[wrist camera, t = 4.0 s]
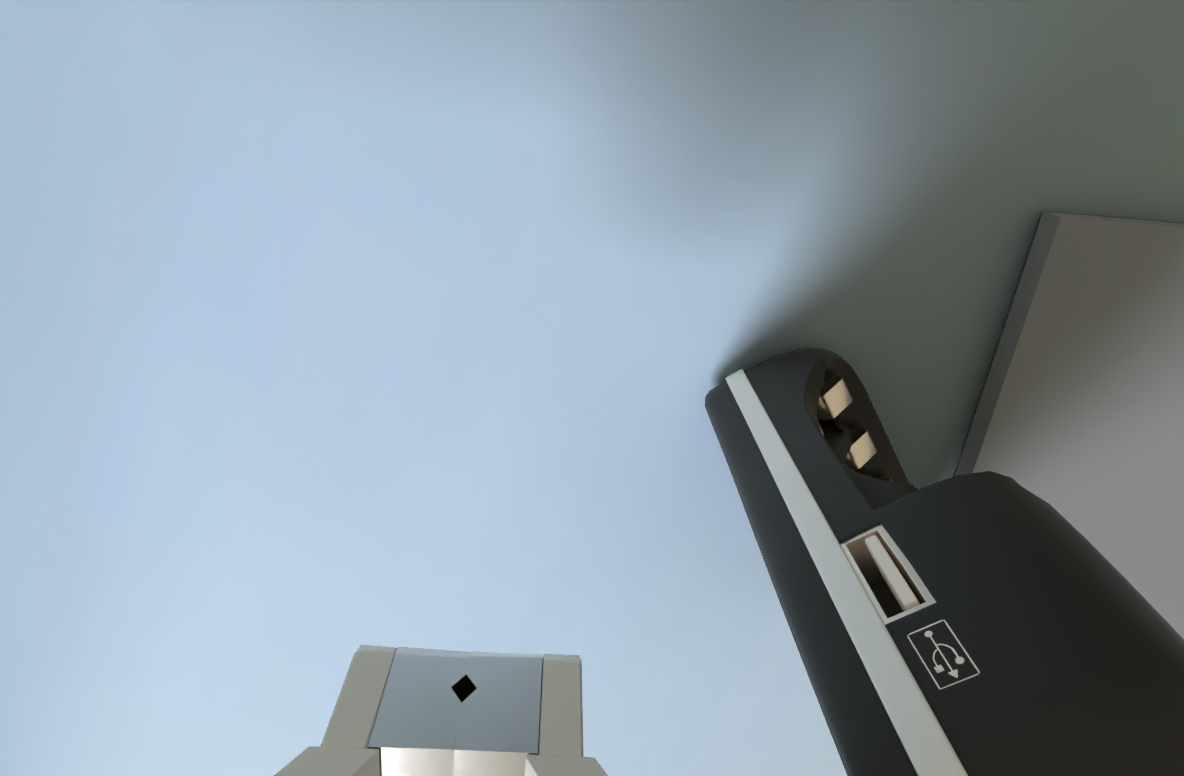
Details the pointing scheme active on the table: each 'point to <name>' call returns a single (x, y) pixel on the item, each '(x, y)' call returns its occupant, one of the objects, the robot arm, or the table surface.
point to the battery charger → (942, 598)
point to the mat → (1097, 393)
